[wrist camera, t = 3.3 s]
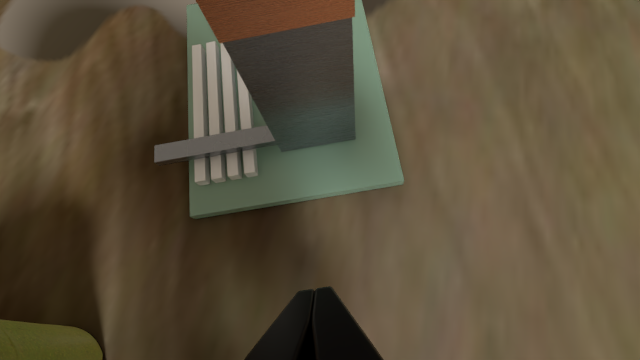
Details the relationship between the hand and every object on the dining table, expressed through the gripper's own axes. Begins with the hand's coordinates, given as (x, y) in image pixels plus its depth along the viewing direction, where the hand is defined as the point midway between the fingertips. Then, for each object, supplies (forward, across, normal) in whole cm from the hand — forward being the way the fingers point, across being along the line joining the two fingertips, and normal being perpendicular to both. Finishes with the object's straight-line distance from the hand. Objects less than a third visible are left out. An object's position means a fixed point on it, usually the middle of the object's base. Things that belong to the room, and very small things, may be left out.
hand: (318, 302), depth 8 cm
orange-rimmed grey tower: (+18, -4, +1) cm, 18 cm away
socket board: (+20, -2, +2) cm, 20 cm away
